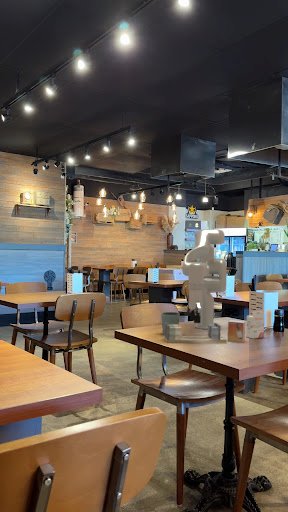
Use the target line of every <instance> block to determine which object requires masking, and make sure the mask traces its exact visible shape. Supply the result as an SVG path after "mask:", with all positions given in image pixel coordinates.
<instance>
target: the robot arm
mask: <svg viewBox="0 0 288 512" xmlns="http://www.w3.org/2000/svg"><path fill="white" fill-rule="evenodd" d="M194 233H195V234H194V239H195V242H194V247H193V248H192V249H191V250H189V251H188V252H187V253H186V255H185V256H184V258H183V263H182V268H181V269H182V270H181V272H182V274H183V275H184V277H185V276H186V277H188V291H189V292H188V293H189V294H188V295H189V296H188V308H189V309H190V315H189V317H190V319H189V320H190V321H193V323H194V324H195V326H194V327H195V328H197V329H200V330H208V325H214V313H215V309H214V308H215V300H214V299H215V298H214V296H213V295H212V294H211V293H225V292H226V289H227V261H226V260H225V259H224V258H215V248H214V247H213V246H212V245H223V244H224V242H225V232H224V231H223V230H222V229H216V228H215V229H214V228H213V229H209V228H207V229H206V228H203V229H200V230H196V231H195V232H194ZM196 260H199V261H198V262H197V261H196ZM194 261H195V262H194ZM212 275H213V276H212ZM214 275H218V276H214Z"/></svg>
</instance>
